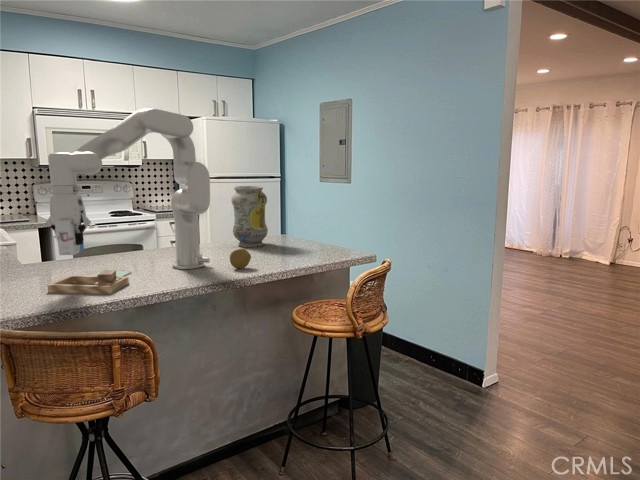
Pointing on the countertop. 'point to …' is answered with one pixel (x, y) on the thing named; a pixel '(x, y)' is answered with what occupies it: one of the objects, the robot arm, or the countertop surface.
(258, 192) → the vase
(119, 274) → the mat
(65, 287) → the frame
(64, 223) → the ink box
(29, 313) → the countertop surface
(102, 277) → the offcut top
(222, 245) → the countertop surface
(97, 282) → the offcut low
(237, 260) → the potato
